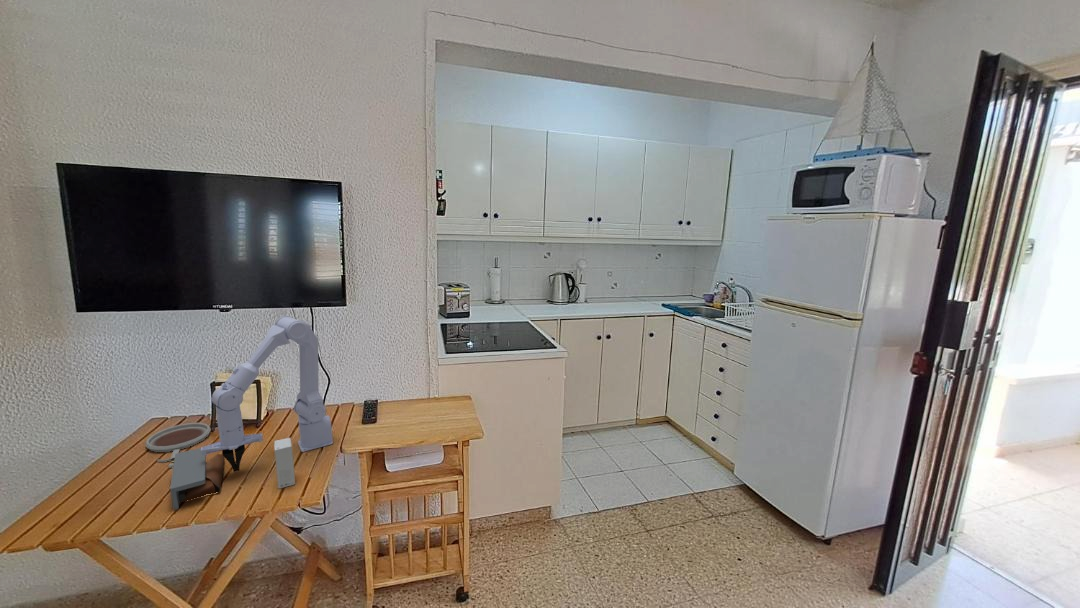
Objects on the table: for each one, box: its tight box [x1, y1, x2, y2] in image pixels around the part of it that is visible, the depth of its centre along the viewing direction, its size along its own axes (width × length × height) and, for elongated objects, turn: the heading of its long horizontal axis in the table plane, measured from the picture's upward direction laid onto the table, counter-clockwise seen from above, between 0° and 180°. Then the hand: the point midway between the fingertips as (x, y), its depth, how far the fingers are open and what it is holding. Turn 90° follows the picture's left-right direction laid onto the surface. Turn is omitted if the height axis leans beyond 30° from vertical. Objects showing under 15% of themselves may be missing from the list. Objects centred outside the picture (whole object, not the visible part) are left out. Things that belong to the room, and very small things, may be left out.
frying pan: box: [145, 422, 212, 469], centre depth 140 cm, size 17×3×28 cm
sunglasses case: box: [182, 453, 226, 503], centre depth 123 cm, size 18×7×7 cm, turn 33°
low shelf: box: [169, 447, 207, 511], centre depth 120 cm, size 7×20×6 cm, turn 37°
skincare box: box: [273, 437, 296, 490], centre depth 123 cm, size 6×4×12 cm
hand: (236, 469), depth 127 cm, fingers closed
